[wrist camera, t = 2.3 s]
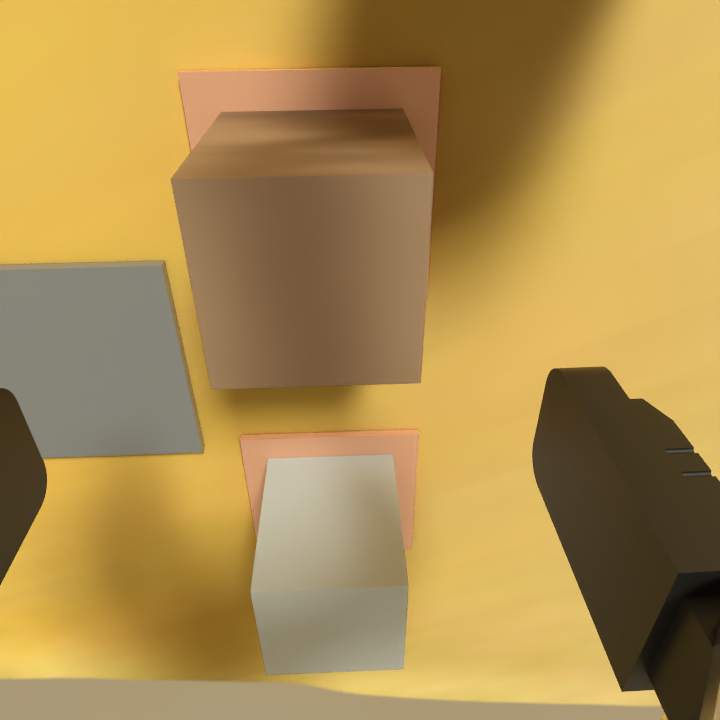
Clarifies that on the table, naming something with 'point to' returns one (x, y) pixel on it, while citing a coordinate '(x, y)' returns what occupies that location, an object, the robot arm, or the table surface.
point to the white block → (330, 566)
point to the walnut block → (308, 247)
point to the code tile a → (316, 96)
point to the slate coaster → (97, 359)
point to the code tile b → (335, 444)
